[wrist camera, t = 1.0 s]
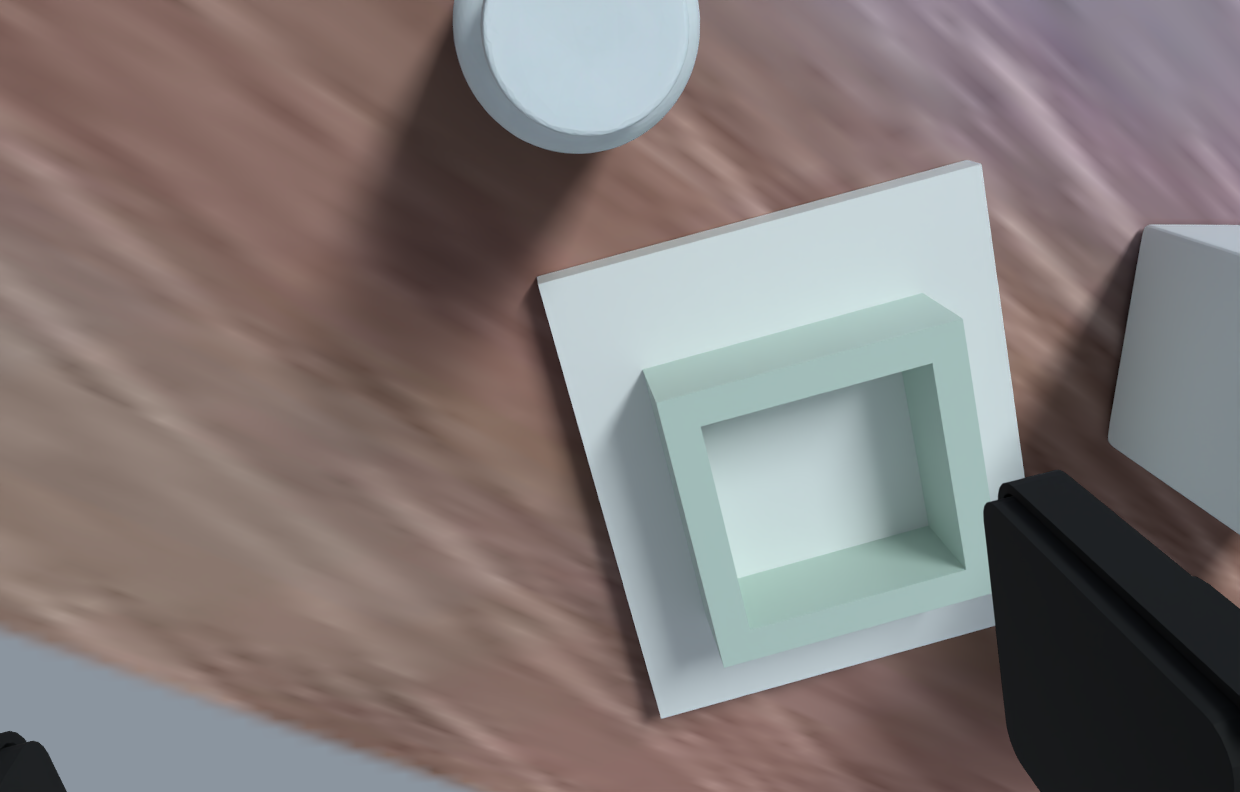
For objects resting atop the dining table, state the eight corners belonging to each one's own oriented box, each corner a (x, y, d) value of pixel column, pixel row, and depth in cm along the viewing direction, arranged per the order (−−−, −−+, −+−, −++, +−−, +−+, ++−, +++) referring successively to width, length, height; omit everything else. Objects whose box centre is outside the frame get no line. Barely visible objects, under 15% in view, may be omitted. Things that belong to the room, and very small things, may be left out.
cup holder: (536, 276, 32) (541, 310, 29) (967, 160, 33) (1028, 178, 29) (657, 700, 37) (674, 777, 34) (1029, 597, 38) (1089, 661, 34)
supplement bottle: (517, -123, 29) (525, -188, 20) (695, -19, 30) (779, -35, 21) (428, 69, 30) (398, 89, 21) (602, 160, 32) (644, 217, 22)
